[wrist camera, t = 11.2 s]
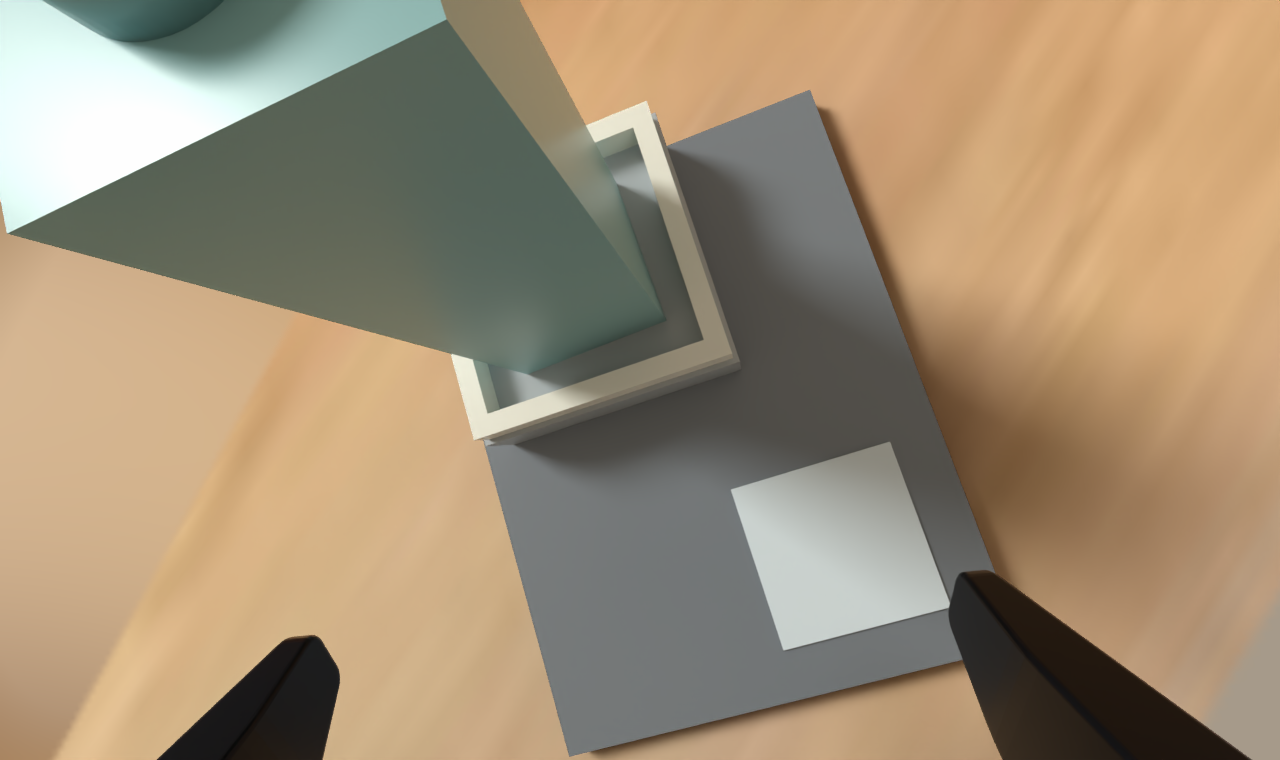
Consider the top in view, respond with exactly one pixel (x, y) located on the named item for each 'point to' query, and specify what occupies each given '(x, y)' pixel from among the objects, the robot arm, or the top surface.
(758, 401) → the grey board with socket
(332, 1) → the pillar
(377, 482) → the top surface
